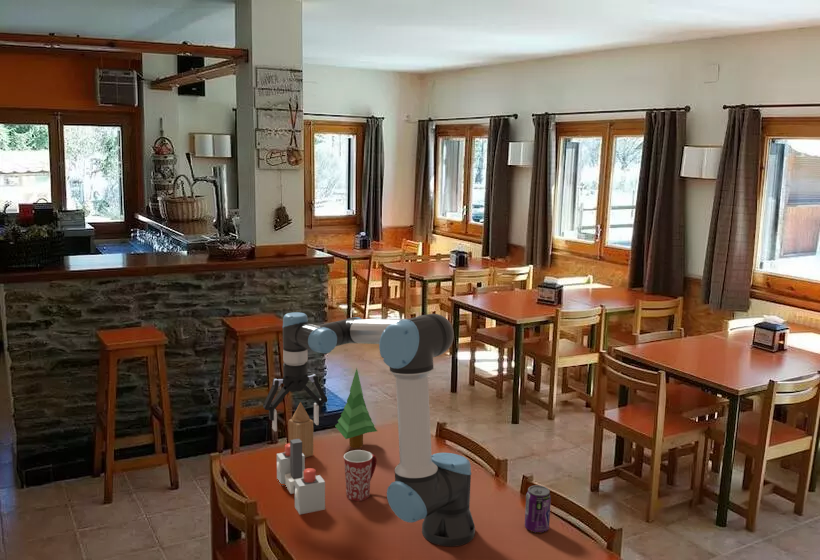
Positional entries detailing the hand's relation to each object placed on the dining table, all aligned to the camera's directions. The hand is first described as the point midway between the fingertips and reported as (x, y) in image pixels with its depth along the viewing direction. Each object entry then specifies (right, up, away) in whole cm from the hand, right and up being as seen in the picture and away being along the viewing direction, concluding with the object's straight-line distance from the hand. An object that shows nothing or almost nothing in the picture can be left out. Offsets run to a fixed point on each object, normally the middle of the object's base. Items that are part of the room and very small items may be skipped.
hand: (295, 426), depth 232 cm
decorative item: (-3, -16, +29) cm, 34 cm away
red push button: (-3, -11, +8) cm, 13 cm away
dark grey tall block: (0, -21, +4) cm, 21 cm away
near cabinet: (+6, -23, -9) cm, 25 cm away
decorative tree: (+16, -15, +38) cm, 44 cm away
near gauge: (+6, -14, -10) cm, 18 cm away
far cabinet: (-3, -20, +9) cm, 22 cm away
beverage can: (+73, -26, -18) cm, 80 cm away
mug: (+21, -22, +1) cm, 30 cm away
